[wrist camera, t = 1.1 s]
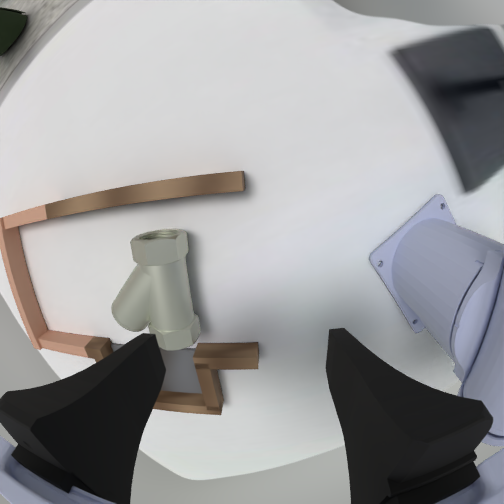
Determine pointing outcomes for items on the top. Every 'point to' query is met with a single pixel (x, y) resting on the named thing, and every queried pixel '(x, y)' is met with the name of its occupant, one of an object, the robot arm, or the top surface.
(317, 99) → the top surface
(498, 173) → the top surface
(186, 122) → the top surface
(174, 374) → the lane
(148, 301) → the pipe fitting
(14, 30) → the character mug
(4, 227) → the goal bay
